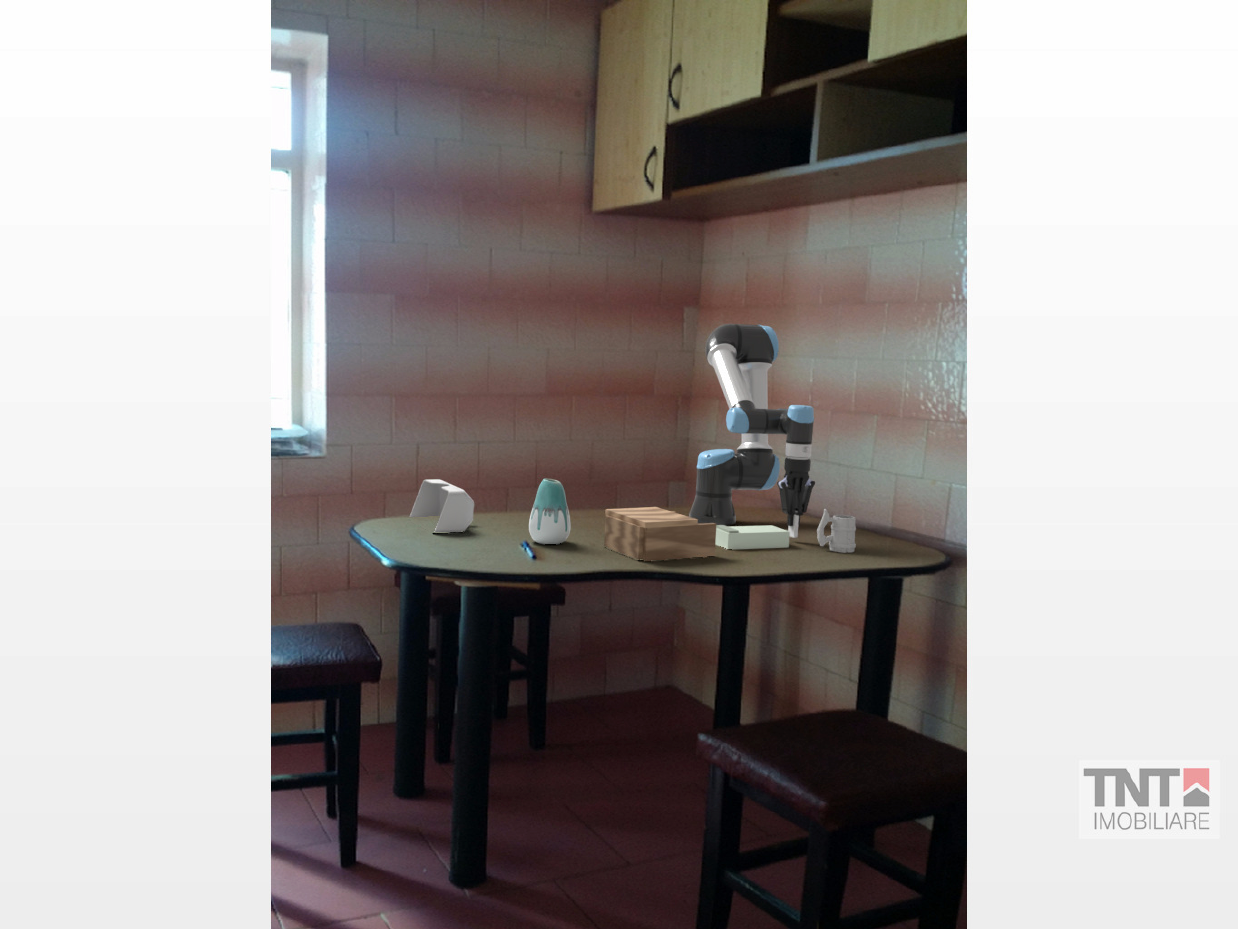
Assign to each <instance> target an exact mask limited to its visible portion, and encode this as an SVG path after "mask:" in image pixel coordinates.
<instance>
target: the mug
mask: <svg viewBox="0 0 1238 929" xmlns="http://www.w3.org/2000/svg"><path fill="white" fill-rule="evenodd" d="M829 513H830V512H828V509H826V508H824V509H823V513H822V514H823V515H822V517H821V519H820V522H819V523H818V524H819V525H818V527H817V529H816V533H817V536H816V537H817V541H818V544H819V546H820V547H824V546H825V545H826V544H827V543H828V546H829V551H832V552H834V553H837V552H838V553H845V554H846V553H850V554H851V553H854V552H855V548H857V547H856V546H857V544H856V541H855V540H856V531H857V526H856V517H855V516H852V515H847V514H833V516H832V517H831V516H830V514H829ZM829 522H831V524H830V529H831V530H830V531H831V533H830V534H829V535H827V536H826V535H825V534H824V533H825V528H826V526H827V525H828V523H829Z"/></svg>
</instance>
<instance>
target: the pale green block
mask: <svg viewBox="0 0 1238 929" xmlns="http://www.w3.org/2000/svg"><path fill="white" fill-rule="evenodd" d="M715 546H717V547H720V546H721V547H720V548H722V547H724V548H723V549H725V548H726V549H725V550H727V549H732V550H750V549H751V550H755V549H756V550H757V549H758V550H759V549H777V548H778V549H780V548H781V549H782V548H789V547H790V531H788V529H783V528H780V527H778V526H775V525H773V524H771V525H768V524H767V525H738V526H737V525H735V526H729V525H716V542H715Z"/></svg>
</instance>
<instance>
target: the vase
mask: <svg viewBox="0 0 1238 929" xmlns="http://www.w3.org/2000/svg"><path fill="white" fill-rule="evenodd" d="M534 499H535V500H534V502H533V506H532V508H531V512H530V516H529V520H528V532H529V534H530V537H531V539H532V540H533V541H534V542H536V543H538V544H540V545H545V544H556V545H561V544H563V543H564V542H565V541H566V540H568V537H569V536H570V532H571V516H570V512H569V507H568V504H567V499H566V492H565V489H564V486H563V483H562V482H561V481H559V480H556V479H553V478H543V479H542V481H541V483H540V484H539V486H538V489H537V491H536V495H535V498H534ZM560 543H561V544H560Z"/></svg>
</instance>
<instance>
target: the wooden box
mask: <svg viewBox="0 0 1238 929" xmlns="http://www.w3.org/2000/svg"><path fill="white" fill-rule="evenodd" d="M604 512H605V513H604V514H605V522H604V523H605V524H604V542H603V544H604V545H603V547H604V546H606V547H608V548H610V549H613V550H615V551H617V552H620V553H622V554H625V555H627V556H631V557H634V558H636V559H639V560H640V559H643V560H645V561H651V560H664V561H667V560H666V559H677V560H681V559H680V558H690V559H693V558H692V557H703V558H708V557H707V556H715V554H716V545H715V542H716V525H717V524H715V523H704V524H699V523H698V519H694V518H691V517H689V515H684V514H680V513H678V512H677V511H674V510H671V511H670V510H668V509H663V508H660V507H658V506H650V507H646V506H645V507H628V508H626V507H625V508H607V509H605V511H604ZM645 561H644V562H645ZM651 562H652V561H651Z"/></svg>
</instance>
